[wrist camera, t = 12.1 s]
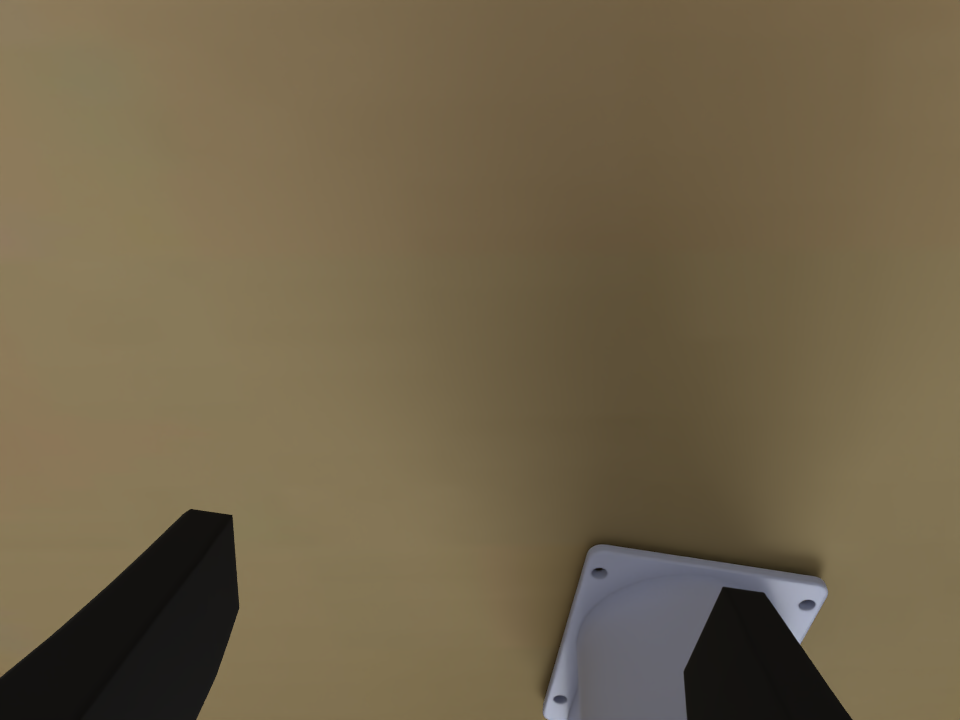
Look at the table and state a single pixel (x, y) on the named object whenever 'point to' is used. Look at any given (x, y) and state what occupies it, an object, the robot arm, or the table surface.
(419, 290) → the table surface
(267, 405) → the table surface
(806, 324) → the table surface
